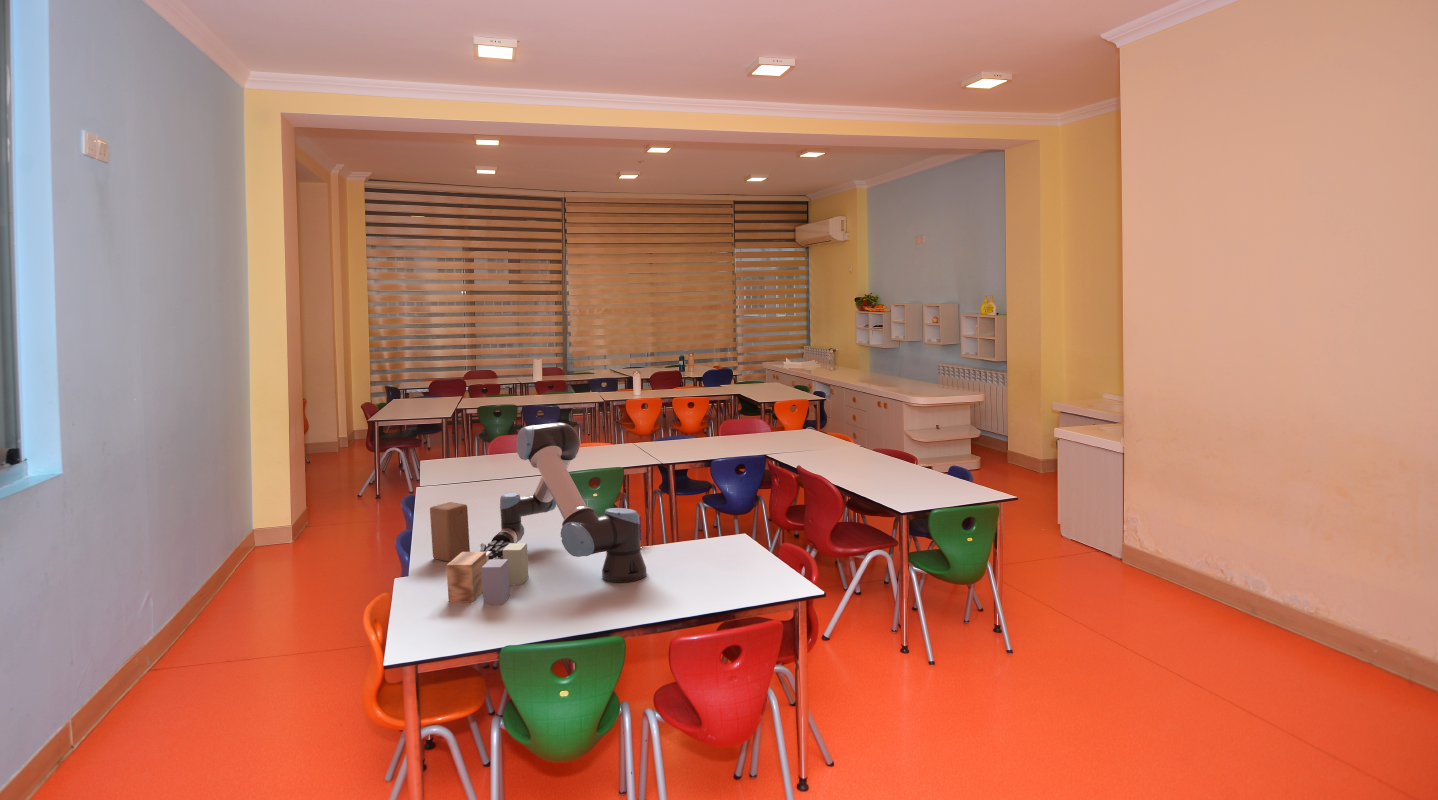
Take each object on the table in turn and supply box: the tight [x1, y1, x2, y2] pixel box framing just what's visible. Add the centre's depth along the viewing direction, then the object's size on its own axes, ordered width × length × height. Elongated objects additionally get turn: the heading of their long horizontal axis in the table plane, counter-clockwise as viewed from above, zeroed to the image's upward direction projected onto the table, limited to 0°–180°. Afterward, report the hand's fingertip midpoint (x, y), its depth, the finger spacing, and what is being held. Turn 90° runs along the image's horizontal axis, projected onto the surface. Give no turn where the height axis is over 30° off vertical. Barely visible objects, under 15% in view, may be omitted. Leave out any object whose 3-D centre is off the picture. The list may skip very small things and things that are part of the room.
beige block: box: [502, 542, 530, 586], centre depth 265 cm, size 6×8×12 cm
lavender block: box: [482, 558, 511, 606], centre depth 247 cm, size 6×8×12 cm
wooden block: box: [429, 501, 471, 563], centre depth 294 cm, size 10×10×20 cm
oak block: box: [446, 551, 486, 603], centre depth 254 cm, size 8×14×12 cm, turn 179°
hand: (483, 560), depth 270 cm, fingers closed
